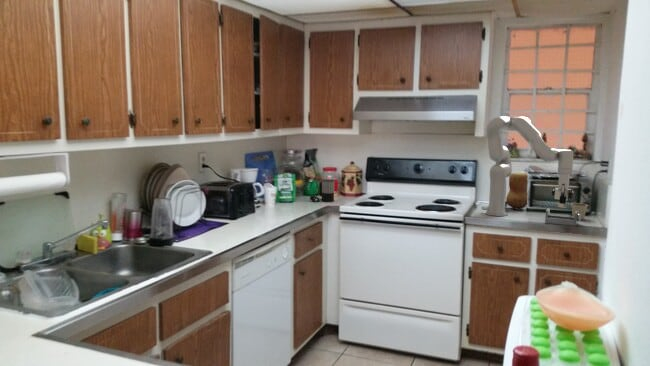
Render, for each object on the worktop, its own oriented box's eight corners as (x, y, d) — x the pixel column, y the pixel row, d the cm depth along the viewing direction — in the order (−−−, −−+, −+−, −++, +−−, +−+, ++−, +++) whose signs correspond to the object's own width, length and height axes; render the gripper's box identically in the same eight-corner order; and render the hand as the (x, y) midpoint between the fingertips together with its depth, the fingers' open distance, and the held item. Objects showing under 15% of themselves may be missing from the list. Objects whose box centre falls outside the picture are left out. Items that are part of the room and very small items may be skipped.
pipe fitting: (545, 222, 295) (545, 210, 294) (546, 219, 303) (547, 208, 302) (579, 226, 286) (580, 213, 285) (580, 223, 295) (581, 211, 294)
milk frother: (337, 201, 359) (337, 180, 357) (322, 203, 347) (323, 182, 345) (321, 198, 368) (321, 178, 366) (306, 201, 356) (307, 180, 354)
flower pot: (589, 220, 303) (590, 206, 302) (572, 219, 305) (573, 205, 304) (584, 217, 312) (585, 203, 311) (567, 216, 314) (568, 202, 313)
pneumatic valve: (570, 209, 288) (572, 188, 286) (550, 206, 297) (552, 185, 295) (574, 208, 291) (576, 187, 290) (554, 206, 300) (556, 185, 299)
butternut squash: (501, 207, 342) (503, 170, 339) (518, 207, 346) (520, 170, 343) (515, 211, 329) (518, 172, 326) (532, 210, 333) (535, 172, 330)
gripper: (559, 169, 301) (557, 200, 303) (556, 172, 286) (554, 204, 288) (573, 170, 297) (571, 201, 299) (571, 173, 282) (569, 205, 284)
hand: (562, 202), depth 293 cm, fingers closed on pneumatic valve, 6 cm apart
